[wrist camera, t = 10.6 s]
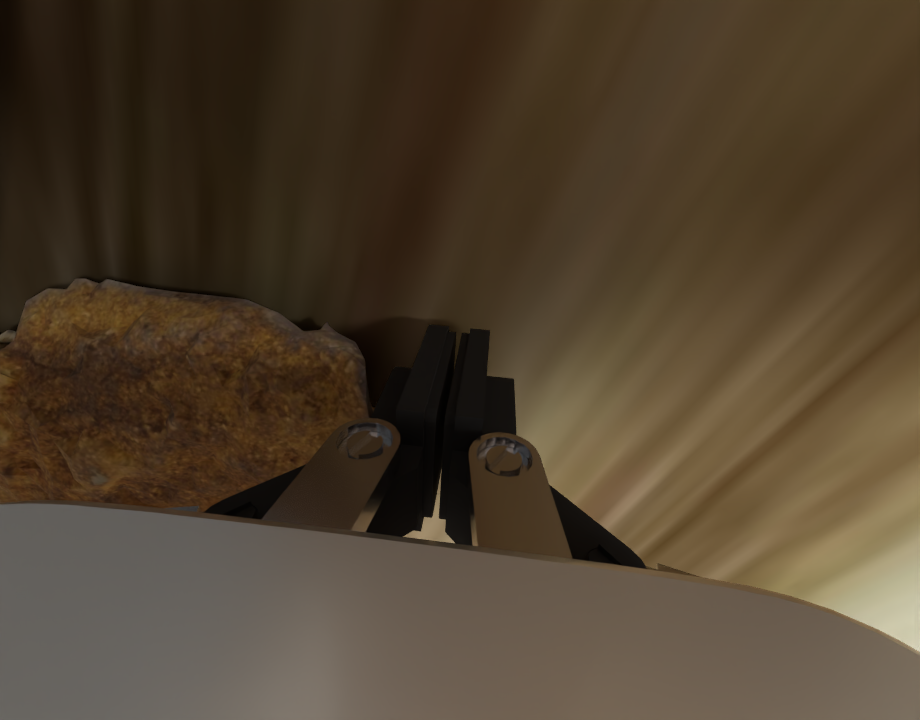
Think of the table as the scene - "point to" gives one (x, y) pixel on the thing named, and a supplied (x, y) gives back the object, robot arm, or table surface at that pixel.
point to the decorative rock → (164, 396)
